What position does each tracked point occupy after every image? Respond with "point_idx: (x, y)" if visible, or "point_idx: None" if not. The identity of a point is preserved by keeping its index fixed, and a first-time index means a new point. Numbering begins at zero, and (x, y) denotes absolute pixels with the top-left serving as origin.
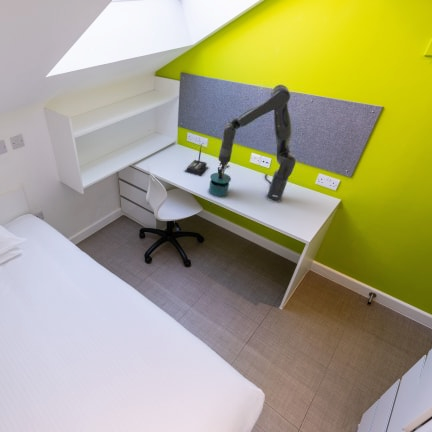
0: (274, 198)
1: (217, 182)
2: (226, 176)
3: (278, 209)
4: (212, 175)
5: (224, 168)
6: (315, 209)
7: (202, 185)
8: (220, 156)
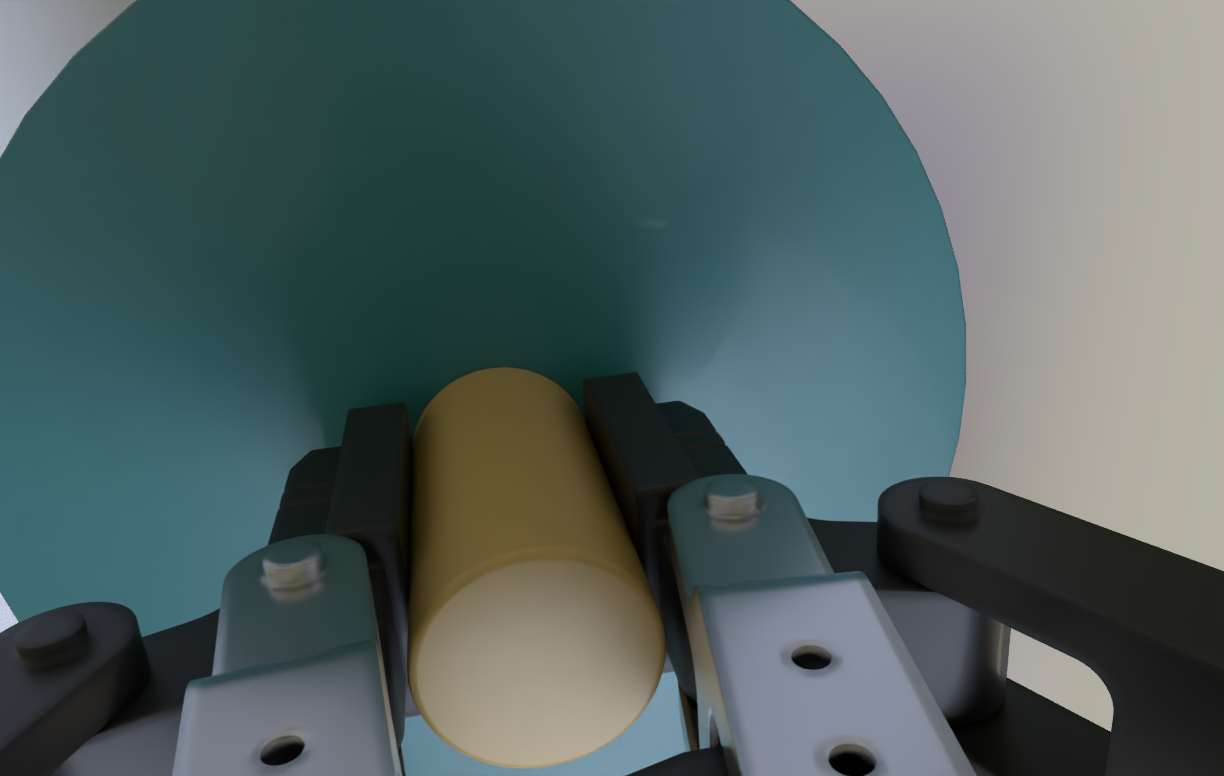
0: None
1: (953, 343)
2: (168, 280)
3: None
4: (571, 768)
5: (784, 697)
6: None
7: None
8: None
